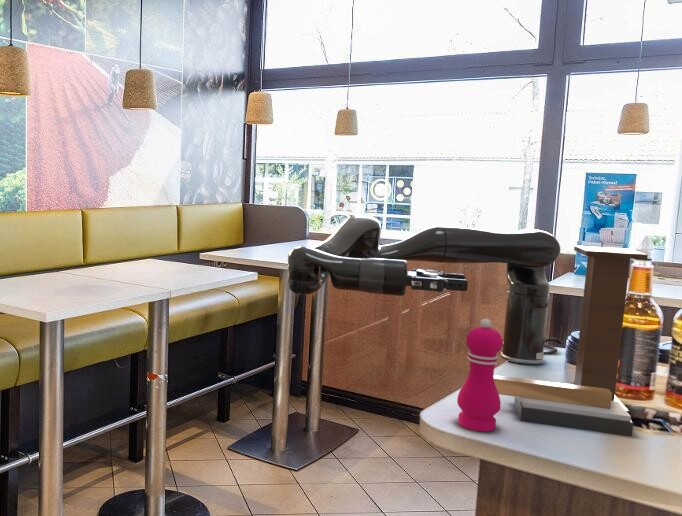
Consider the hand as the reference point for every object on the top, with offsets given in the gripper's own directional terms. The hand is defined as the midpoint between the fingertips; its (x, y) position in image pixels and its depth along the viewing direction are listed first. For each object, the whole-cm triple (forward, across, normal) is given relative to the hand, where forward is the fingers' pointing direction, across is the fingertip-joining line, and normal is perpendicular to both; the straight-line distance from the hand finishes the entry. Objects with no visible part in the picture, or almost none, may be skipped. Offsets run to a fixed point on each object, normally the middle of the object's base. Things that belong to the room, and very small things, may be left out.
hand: (466, 282), depth 141 cm
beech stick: (+15, +5, -21) cm, 26 cm away
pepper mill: (+3, +16, -24) cm, 29 cm away
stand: (+26, -7, -24) cm, 36 cm away
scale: (+20, +5, -24) cm, 32 cm away
